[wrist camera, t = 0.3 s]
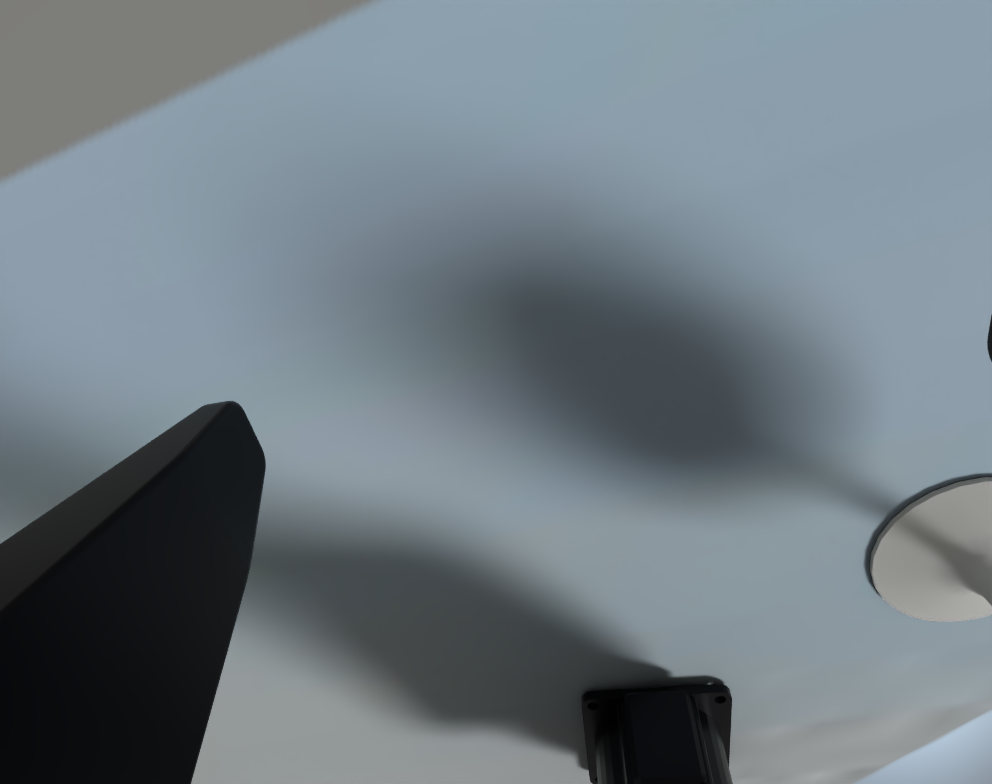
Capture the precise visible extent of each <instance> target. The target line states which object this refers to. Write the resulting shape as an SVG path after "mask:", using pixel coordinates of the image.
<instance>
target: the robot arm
mask: <svg viewBox="0 0 992 784" xmlns="http://www.w3.org/2000/svg"><path fill="white" fill-rule="evenodd" d="M987 343H988V352H989V356H990V359H991V361H992V315H991V321H990V327H989V333H988V341H987ZM265 468H266V463H265V456H264V452H263V450H262V447H261V445H260V443H259V441H258V439H257V437H256V435H255V433H254V431H253V428H252V426H251V424H250V422H249V420H248V418H247V416H246V414H245V412H244V410H243V408H242V407H241V406H240V405H239V404H238V403H236V402H234V401H226V402H220V403H213V404H207V405H204V406H202V407H201V408H199V409H198V410H196V411H195V412H193V413H192V414H190V415H189V416H187V417H186V418H184V419H183V420H181V421H180V422H179V423H177V424H176V425H174V426H173V427H171V428H170V429H168V430H167V431H165V432H164V433H162V434H161V435H159V436H158V437H157V438H155V439H154V440H152V441H151V442H149V443H148V444H146V445H145V446H143V447H142V448H140V449H139V450H137V451H136V452H135V453H133V454H132V455H130V456H129V457H127V458H126V459H124V460H123V461H121V462H120V463H118V464H117V465H115V466H114V467H113V468H111V469H110V470H108V471H107V472H105V473H104V474H102V475H101V476H99V477H98V478H96V479H95V480H93V481H92V482H91V483H89V484H88V485H86V486H85V487H83V488H82V489H80V490H79V491H77V492H76V493H74V494H73V495H71V496H70V497H69V498H67V499H66V500H64V501H63V502H61V503H60V504H58V505H57V506H55V507H54V508H52V509H51V510H49V511H48V512H46V513H45V514H44V515H42V516H41V517H39V518H38V519H36V520H35V521H33V522H32V523H30V524H29V525H27V526H26V527H24V528H23V529H22V530H20V531H19V532H17V533H16V534H14V535H13V536H11V537H10V538H8V539H7V540H5V541H4V542H2V543H1V544H0V784H191V781H192V778H193V774H194V770H195V767H196V763H197V760H198V756H199V752H200V749H201V745H202V741H203V738H204V734H205V731H206V727H207V723H208V720H209V716H210V713H211V709H212V705H213V702H214V698H215V694H216V691H217V687H218V684H219V680H220V676H221V673H222V669H223V666H224V662H225V658H226V655H227V651H228V647H229V644H230V640H231V637H232V633H233V629H234V626H235V622H236V619H237V615H238V611H239V608H240V604H241V600H242V597H243V593H244V590H245V586H246V582H247V578H248V574H249V570H250V565H251V559H252V554H253V548H254V541H255V535H256V528H257V522H258V515H259V509H260V502H261V496H262V489H263V483H264V476H265ZM581 702H582V713H583V722H584V731H585V740H586V749H587V758H588V767H589V776H590V781H591V783H593V784H733V783H732V779H731V775H730V771H729V752H730V731H731V709H732V698H731V694H730V690H729V688H728V687H727V686H725V685H701V686H682V687H663V688H644V689H625V690H606V691H590V692H587V693H585V694H583V696H582V698H581Z"/></svg>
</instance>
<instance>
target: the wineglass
mask: <svg viewBox="0 0 992 784" xmlns="http://www.w3.org/2000/svg"><path fill="white" fill-rule="evenodd" d="M870 572H871V576H872V580H873V584H874V586H875V588H876V589H877V591H878V592H879V594H880V595H881V597H882V598H883V599H884V601H885V602H887V603H888V604H889V605H891V606H892V607H893V608H895V609H896V610H897V611H899V612H901V613H904V614H906V615H909V616H911V617H914V618H918V619H923V620H929V621H935V622H958V621H965V620H971V619H977V618H982V617H985V616H989V615H992V477H982V478H977V479H971V480H966V481H961V482H956V483H954V484H951V485H948V486H945V487H943V488H940V489H937V490H935V491H932V492H930V493H929V494H927V495H925V496H923V497H921V498H920V499H918V500H916V501H914V502H913V503H911V504H909V505H908V506H907V507H906V508H905V509H903V510H902V511H901V512H900V513H899V514H897V515H896V516H895V517H894V518H893V519H892V520H891V521H890V522H889V524H888V525H887V526H886V527H885V529H884V530H883V531H882V532H881V534H880V535H879V537H878V539H877V541H876V543H875V546H874V548H873V550H872V552H871V561H870Z"/></svg>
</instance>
